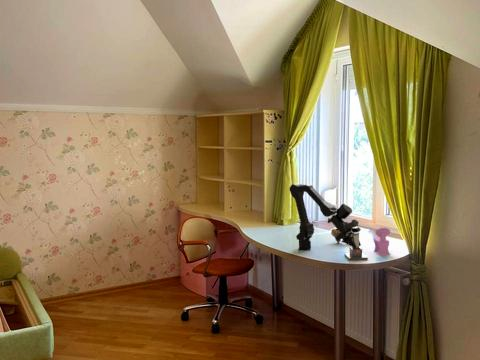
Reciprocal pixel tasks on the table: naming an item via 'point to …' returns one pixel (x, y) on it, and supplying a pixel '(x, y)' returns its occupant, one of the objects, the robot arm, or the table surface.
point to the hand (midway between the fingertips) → (358, 246)
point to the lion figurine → (335, 233)
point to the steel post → (355, 239)
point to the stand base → (355, 255)
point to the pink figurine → (382, 241)
